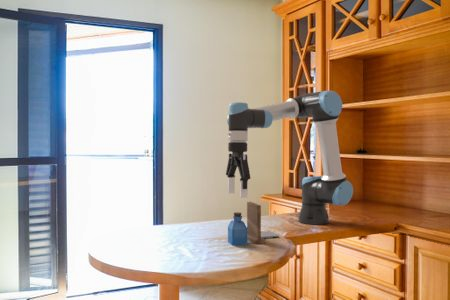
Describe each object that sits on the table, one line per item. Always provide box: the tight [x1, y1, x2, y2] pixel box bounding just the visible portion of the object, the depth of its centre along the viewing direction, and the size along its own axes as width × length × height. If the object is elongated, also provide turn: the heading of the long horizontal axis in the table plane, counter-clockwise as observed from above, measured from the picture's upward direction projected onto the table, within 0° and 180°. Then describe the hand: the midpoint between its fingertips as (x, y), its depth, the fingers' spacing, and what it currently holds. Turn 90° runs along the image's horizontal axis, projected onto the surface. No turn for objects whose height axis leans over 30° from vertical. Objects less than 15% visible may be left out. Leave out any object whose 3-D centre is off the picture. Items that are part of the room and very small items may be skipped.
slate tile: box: [261, 230, 280, 239], centre depth 169 cm, size 9×9×1 cm
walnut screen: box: [246, 201, 267, 245], centre depth 161 cm, size 5×12×15 cm, turn 20°
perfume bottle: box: [227, 211, 248, 247], centre depth 157 cm, size 6×6×12 cm
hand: (237, 195), depth 156 cm, fingers open, 13 cm apart
